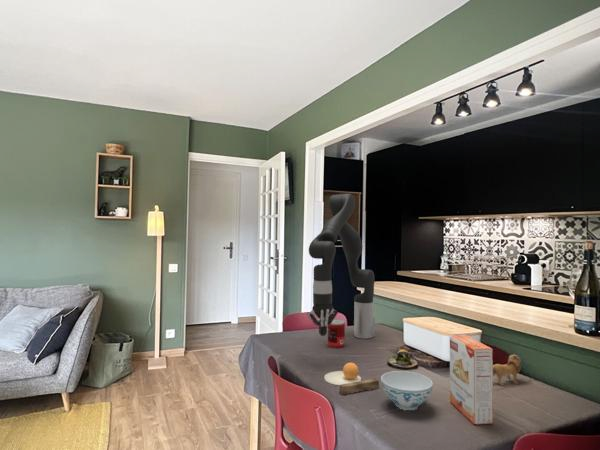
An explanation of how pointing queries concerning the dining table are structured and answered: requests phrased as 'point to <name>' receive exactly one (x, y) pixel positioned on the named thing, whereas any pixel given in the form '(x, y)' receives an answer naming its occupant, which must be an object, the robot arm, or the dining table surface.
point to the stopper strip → (358, 386)
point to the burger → (402, 360)
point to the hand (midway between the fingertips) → (322, 335)
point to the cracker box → (471, 378)
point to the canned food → (336, 334)
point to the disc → (339, 378)
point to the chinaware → (406, 388)
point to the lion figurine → (508, 369)
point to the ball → (350, 370)
